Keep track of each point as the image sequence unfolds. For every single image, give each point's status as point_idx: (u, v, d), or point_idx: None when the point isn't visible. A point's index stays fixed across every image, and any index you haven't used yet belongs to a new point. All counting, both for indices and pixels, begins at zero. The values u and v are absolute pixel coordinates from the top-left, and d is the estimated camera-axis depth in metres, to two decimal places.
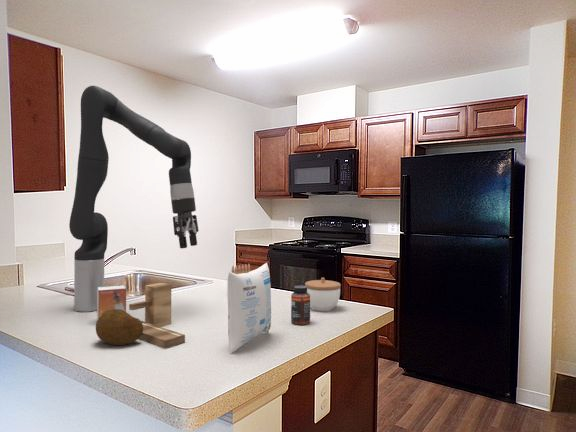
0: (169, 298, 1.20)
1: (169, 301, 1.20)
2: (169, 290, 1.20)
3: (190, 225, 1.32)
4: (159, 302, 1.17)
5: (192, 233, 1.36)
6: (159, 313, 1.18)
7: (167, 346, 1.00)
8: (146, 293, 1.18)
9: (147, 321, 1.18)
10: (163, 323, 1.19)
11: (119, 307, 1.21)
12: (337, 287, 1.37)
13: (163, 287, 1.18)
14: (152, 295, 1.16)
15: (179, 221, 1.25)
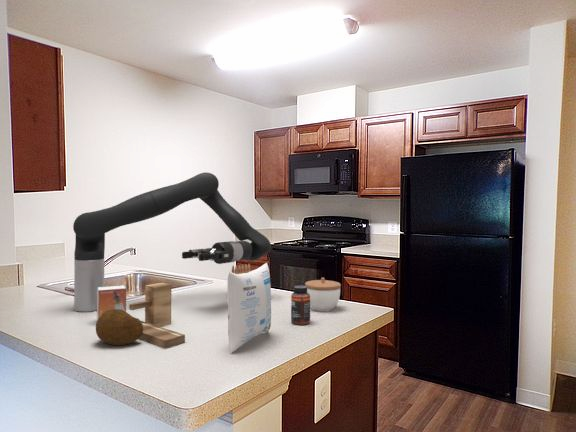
0: (169, 298, 1.20)
1: (169, 301, 1.20)
2: (169, 290, 1.20)
3: None
4: (159, 302, 1.17)
5: (193, 254, 1.35)
6: (159, 313, 1.18)
7: (167, 346, 1.00)
8: (146, 293, 1.18)
9: (147, 321, 1.18)
10: (163, 323, 1.19)
11: (119, 307, 1.21)
12: (337, 287, 1.37)
13: (163, 287, 1.18)
14: (152, 295, 1.16)
15: (225, 258, 1.32)
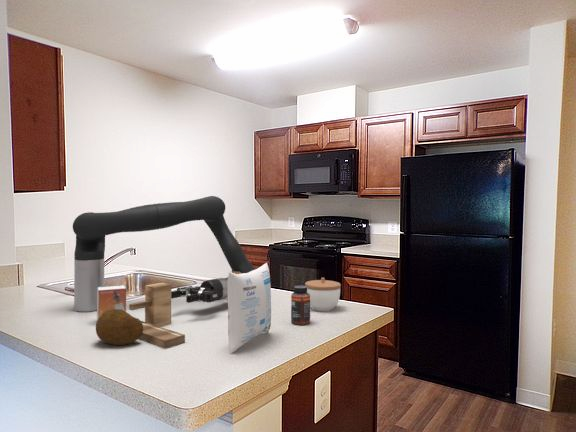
0: (169, 298, 1.20)
1: (169, 301, 1.20)
2: (169, 290, 1.20)
3: None
4: (159, 302, 1.17)
5: (181, 293, 1.32)
6: (159, 313, 1.18)
7: (167, 346, 1.00)
8: (146, 293, 1.18)
9: (147, 321, 1.18)
10: (163, 323, 1.19)
11: (119, 307, 1.21)
12: (337, 287, 1.37)
13: (163, 287, 1.18)
14: (152, 295, 1.16)
15: (213, 298, 1.28)
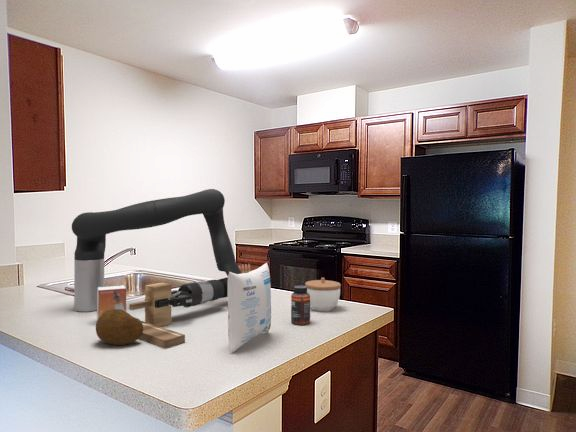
0: None
1: None
2: (169, 290, 1.20)
3: None
4: None
5: None
6: (159, 313, 1.18)
7: (167, 346, 1.00)
8: (146, 293, 1.18)
9: (147, 321, 1.18)
10: (163, 323, 1.19)
11: (119, 307, 1.21)
12: (337, 287, 1.37)
13: (163, 287, 1.18)
14: (152, 295, 1.16)
15: (186, 304, 1.20)
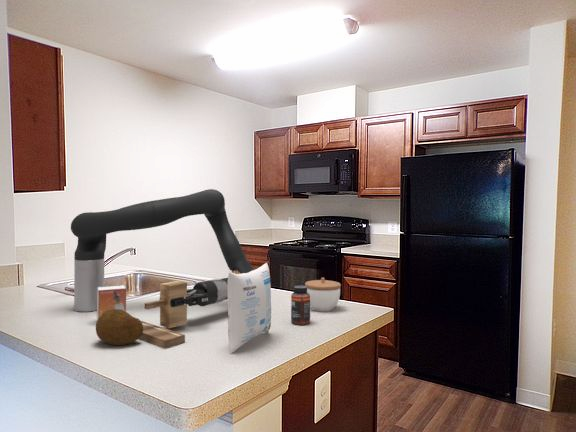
0: None
1: None
2: (184, 288, 1.16)
3: None
4: None
5: None
6: (175, 313, 1.13)
7: (167, 346, 1.00)
8: (161, 292, 1.14)
9: (162, 321, 1.14)
10: (179, 323, 1.15)
11: (119, 307, 1.21)
12: (337, 287, 1.37)
13: (179, 285, 1.14)
14: (167, 294, 1.12)
15: (202, 303, 1.16)
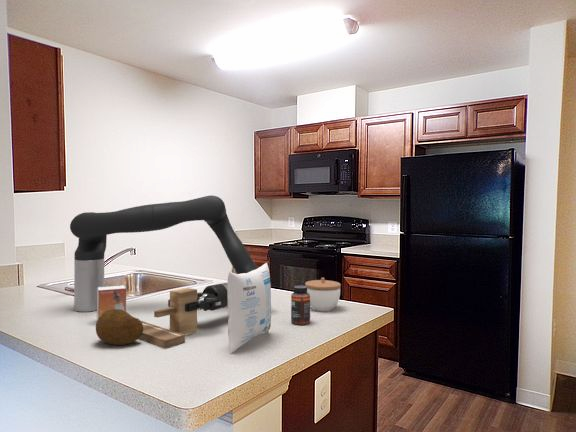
0: None
1: None
2: (195, 295, 1.13)
3: None
4: None
5: None
6: (185, 321, 1.10)
7: (167, 346, 1.00)
8: (171, 299, 1.11)
9: (172, 329, 1.11)
10: (189, 331, 1.12)
11: (119, 307, 1.21)
12: (337, 287, 1.37)
13: (189, 292, 1.11)
14: (178, 301, 1.09)
15: (216, 307, 1.13)
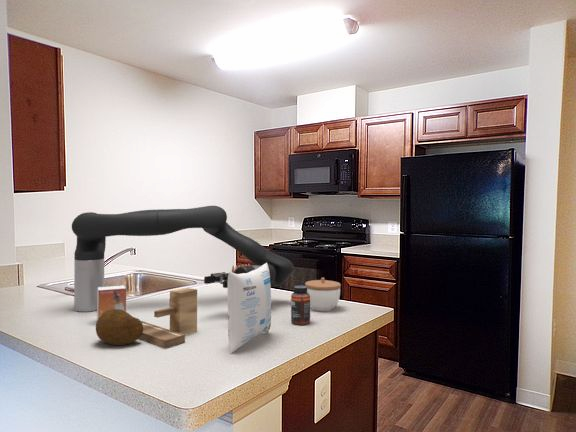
0: (195, 304, 1.13)
1: (195, 307, 1.13)
2: (195, 295, 1.13)
3: None
4: (185, 308, 1.10)
5: (215, 279, 1.28)
6: (185, 321, 1.10)
7: (167, 346, 1.00)
8: (171, 299, 1.11)
9: (172, 329, 1.11)
10: (189, 331, 1.12)
11: (119, 307, 1.21)
12: (337, 287, 1.37)
13: (189, 292, 1.11)
14: (178, 301, 1.09)
15: None
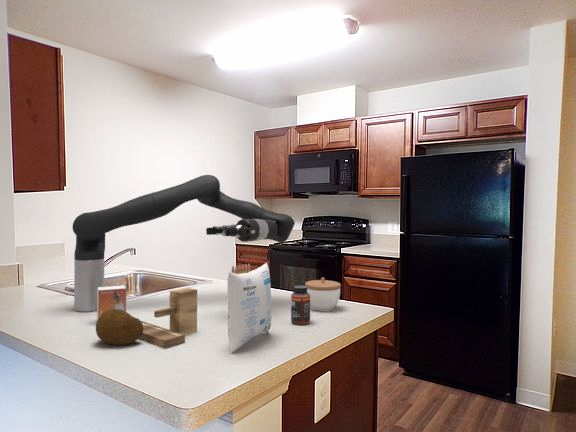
0: (195, 304, 1.13)
1: (195, 307, 1.13)
2: (195, 295, 1.13)
3: None
4: (185, 308, 1.10)
5: (217, 231, 1.27)
6: (185, 321, 1.10)
7: (167, 346, 1.00)
8: (171, 299, 1.11)
9: (172, 329, 1.11)
10: (189, 331, 1.12)
11: (119, 307, 1.21)
12: (337, 287, 1.37)
13: (189, 292, 1.11)
14: (178, 301, 1.09)
15: (251, 234, 1.24)
